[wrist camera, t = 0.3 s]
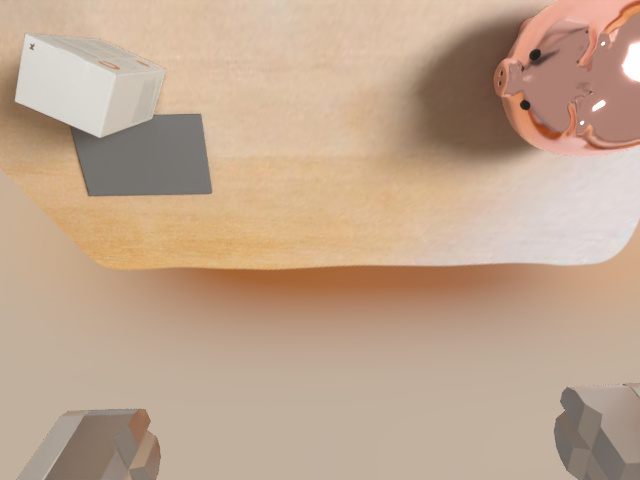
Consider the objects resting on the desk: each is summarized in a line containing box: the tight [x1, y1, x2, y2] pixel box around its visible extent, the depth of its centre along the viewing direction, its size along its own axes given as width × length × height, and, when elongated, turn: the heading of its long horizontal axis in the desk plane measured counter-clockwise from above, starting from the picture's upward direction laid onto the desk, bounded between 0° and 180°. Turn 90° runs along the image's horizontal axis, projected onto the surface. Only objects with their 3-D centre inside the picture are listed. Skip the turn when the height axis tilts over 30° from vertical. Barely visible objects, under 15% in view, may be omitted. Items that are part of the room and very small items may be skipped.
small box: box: [15, 33, 166, 138], centre depth 44 cm, size 8×6×13 cm
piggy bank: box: [493, 0, 640, 157], centre depth 42 cm, size 15×18×16 cm
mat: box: [70, 114, 212, 196], centre depth 54 cm, size 10×16×1 cm, turn 91°
